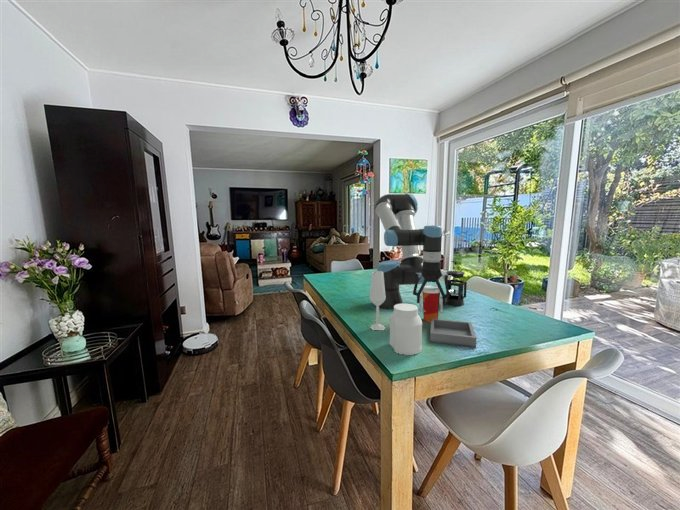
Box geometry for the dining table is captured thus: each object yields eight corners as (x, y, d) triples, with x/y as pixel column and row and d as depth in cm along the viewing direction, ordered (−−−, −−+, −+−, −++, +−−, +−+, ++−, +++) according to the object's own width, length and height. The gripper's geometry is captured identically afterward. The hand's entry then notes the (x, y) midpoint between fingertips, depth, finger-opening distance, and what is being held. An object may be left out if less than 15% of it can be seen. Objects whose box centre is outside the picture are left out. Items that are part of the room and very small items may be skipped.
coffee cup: (426, 315, 129) (427, 284, 127) (443, 319, 123) (444, 287, 121) (417, 320, 123) (417, 288, 121) (434, 325, 117) (435, 291, 116)
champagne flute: (366, 328, 116) (366, 272, 112) (374, 323, 121) (374, 270, 118) (380, 332, 111) (380, 274, 108) (388, 326, 117) (388, 271, 114)
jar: (425, 354, 93) (425, 311, 91) (397, 356, 92) (398, 313, 90) (411, 339, 104) (412, 301, 102) (387, 341, 103) (387, 302, 101)
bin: (430, 341, 102) (430, 332, 102) (430, 326, 116) (431, 318, 116) (476, 347, 97) (476, 337, 96) (470, 330, 111) (471, 322, 111)
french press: (450, 306, 141) (451, 262, 138) (440, 301, 150) (441, 260, 147) (470, 305, 143) (472, 261, 140) (459, 299, 152) (460, 259, 149)
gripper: (406, 261, 120) (405, 311, 123) (458, 263, 113) (456, 316, 116) (407, 259, 127) (407, 306, 130) (457, 260, 120) (455, 310, 123)
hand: (430, 311), depth 123 cm, fingers closed on coffee cup, 8 cm apart
